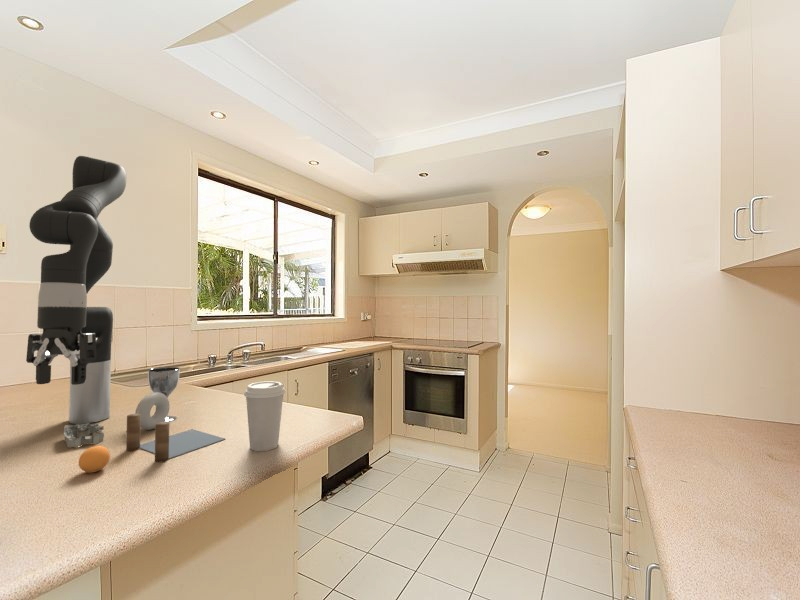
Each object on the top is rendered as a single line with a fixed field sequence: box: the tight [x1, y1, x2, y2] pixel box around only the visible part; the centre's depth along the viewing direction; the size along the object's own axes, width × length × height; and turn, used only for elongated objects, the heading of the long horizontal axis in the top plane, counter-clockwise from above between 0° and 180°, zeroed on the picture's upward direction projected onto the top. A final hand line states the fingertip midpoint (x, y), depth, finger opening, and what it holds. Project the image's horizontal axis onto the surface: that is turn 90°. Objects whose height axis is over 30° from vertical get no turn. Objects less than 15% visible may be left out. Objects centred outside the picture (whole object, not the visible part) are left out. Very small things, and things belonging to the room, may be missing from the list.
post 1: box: [125, 413, 141, 452], centre depth 88 cm, size 3×3×8 cm
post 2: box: [154, 422, 170, 463], centre depth 82 cm, size 3×3×8 cm
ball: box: [78, 445, 111, 473], centre depth 76 cm, size 5×5×5 cm
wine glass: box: [147, 366, 181, 423], centre depth 110 cm, size 8×8×15 cm
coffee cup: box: [243, 380, 286, 452], centre depth 91 cm, size 10×10×15 cm
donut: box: [134, 392, 171, 431], centre depth 102 cm, size 10×4×10 cm, turn 170°
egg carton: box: [63, 422, 105, 448], centre depth 93 cm, size 11×8×4 cm
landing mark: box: [139, 428, 226, 460], centre depth 92 cm, size 14×14×1 cm
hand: (60, 383), depth 76 cm, fingers open, 8 cm apart
